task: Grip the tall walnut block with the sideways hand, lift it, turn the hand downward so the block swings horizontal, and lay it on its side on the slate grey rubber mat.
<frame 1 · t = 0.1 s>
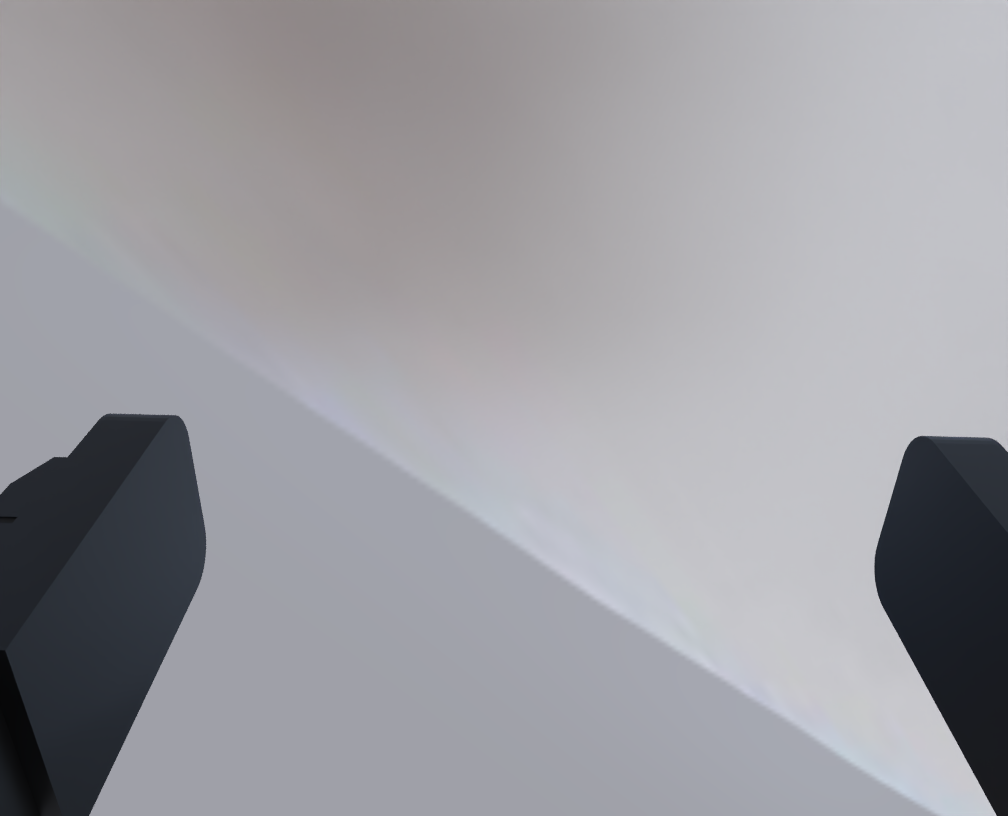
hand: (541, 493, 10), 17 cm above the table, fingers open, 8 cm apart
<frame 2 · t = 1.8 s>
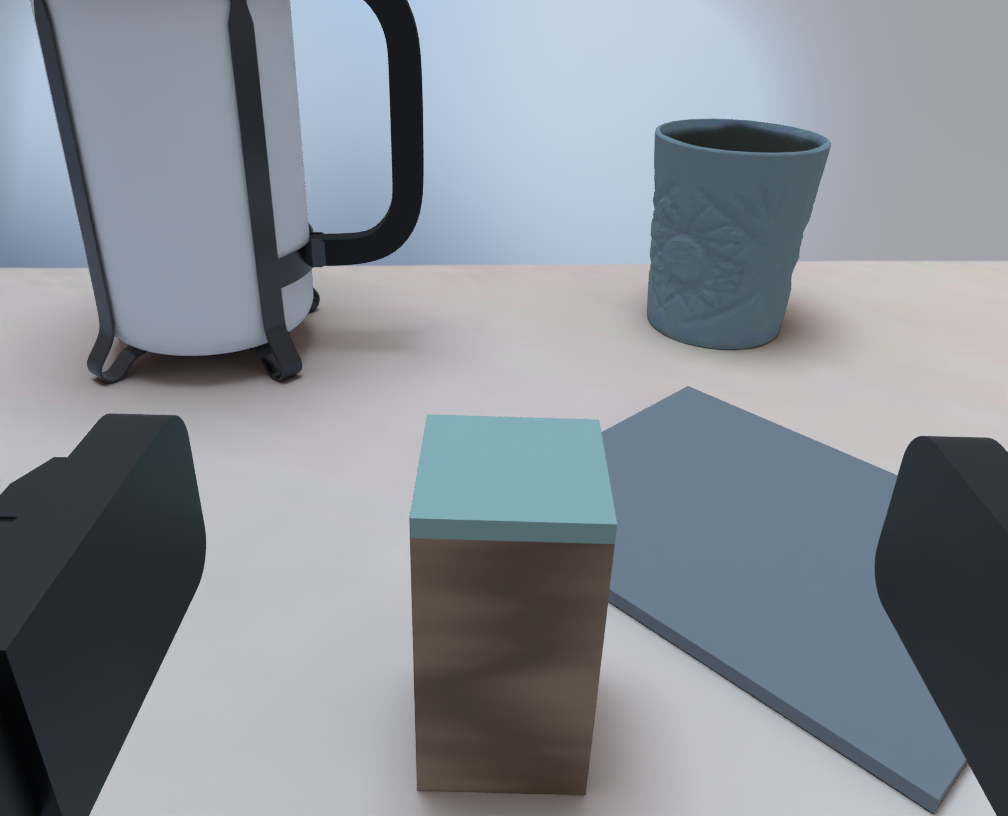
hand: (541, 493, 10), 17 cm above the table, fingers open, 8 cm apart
walnut block: (502, 724, 28), on the table
mat: (772, 541, 37), on the table
coffee press: (239, 341, 53), on the table
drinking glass: (711, 323, 57), on the table
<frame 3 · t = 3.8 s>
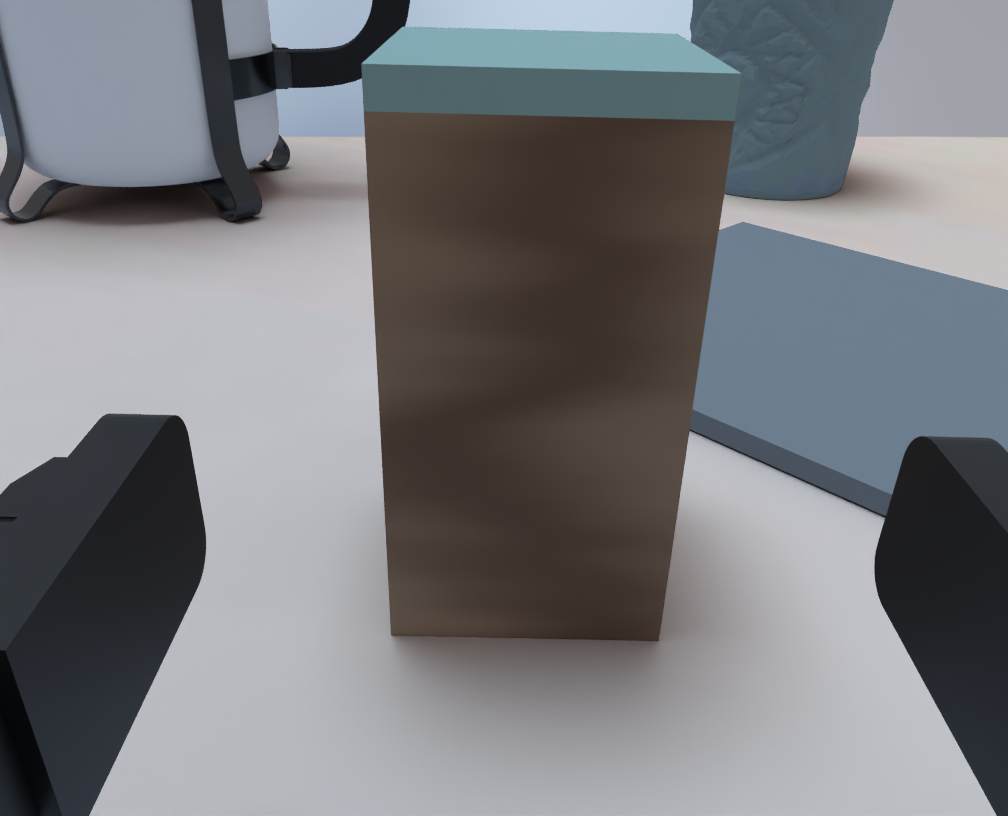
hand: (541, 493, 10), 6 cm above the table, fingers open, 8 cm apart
walnut block: (523, 553, 18), on the table
mat: (880, 361, 27), on the table
coffee press: (189, 192, 43), on the table
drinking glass: (759, 181, 48), on the table
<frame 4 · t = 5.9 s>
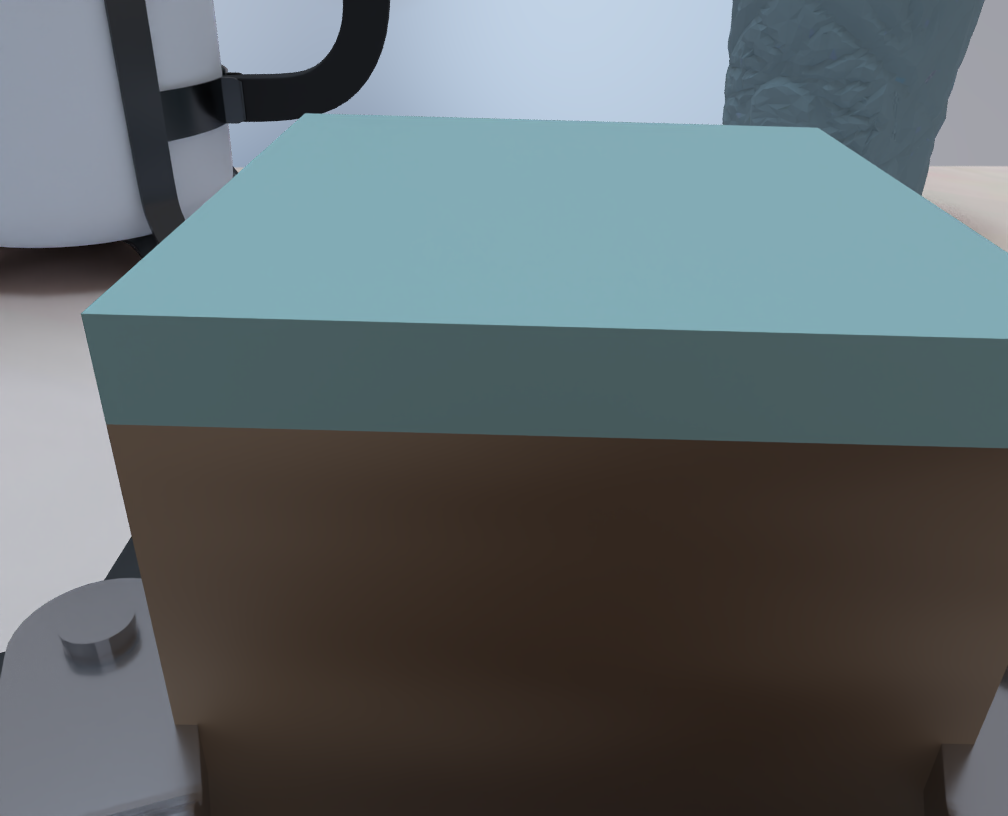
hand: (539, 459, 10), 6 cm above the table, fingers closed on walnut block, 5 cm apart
coffee press: (125, 244, 36), on the table
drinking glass: (806, 227, 40), on the table
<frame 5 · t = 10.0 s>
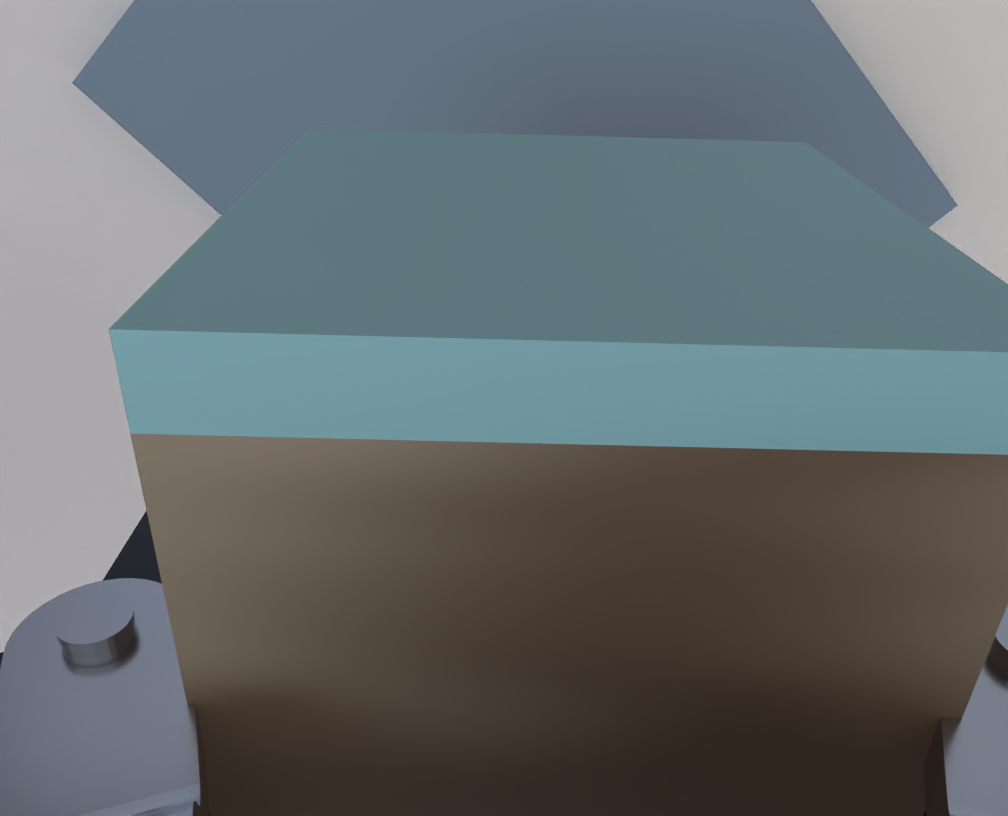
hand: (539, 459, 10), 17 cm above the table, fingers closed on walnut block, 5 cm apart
mat: (526, 141, 25), on the table
when the fingers open (2 cm above the table, at t = 13.3 s): walnut block drops 1 cm, resting on mat.
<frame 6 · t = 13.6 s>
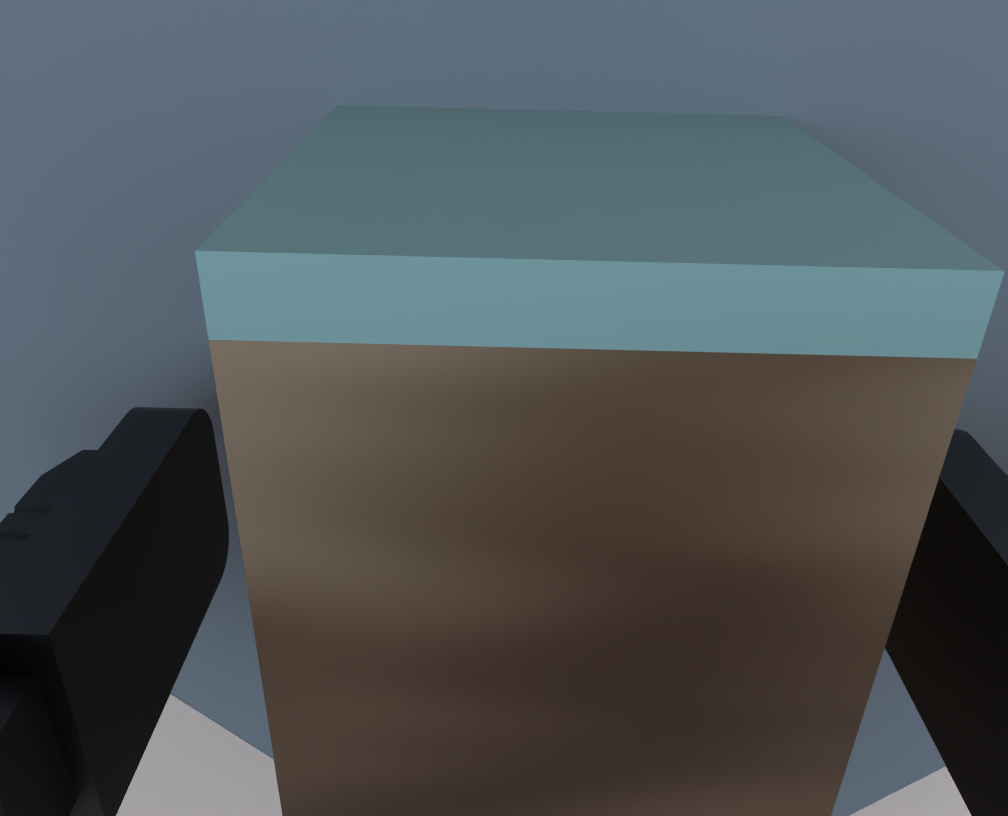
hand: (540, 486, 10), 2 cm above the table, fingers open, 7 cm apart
mat: (536, 387, 12), on the table
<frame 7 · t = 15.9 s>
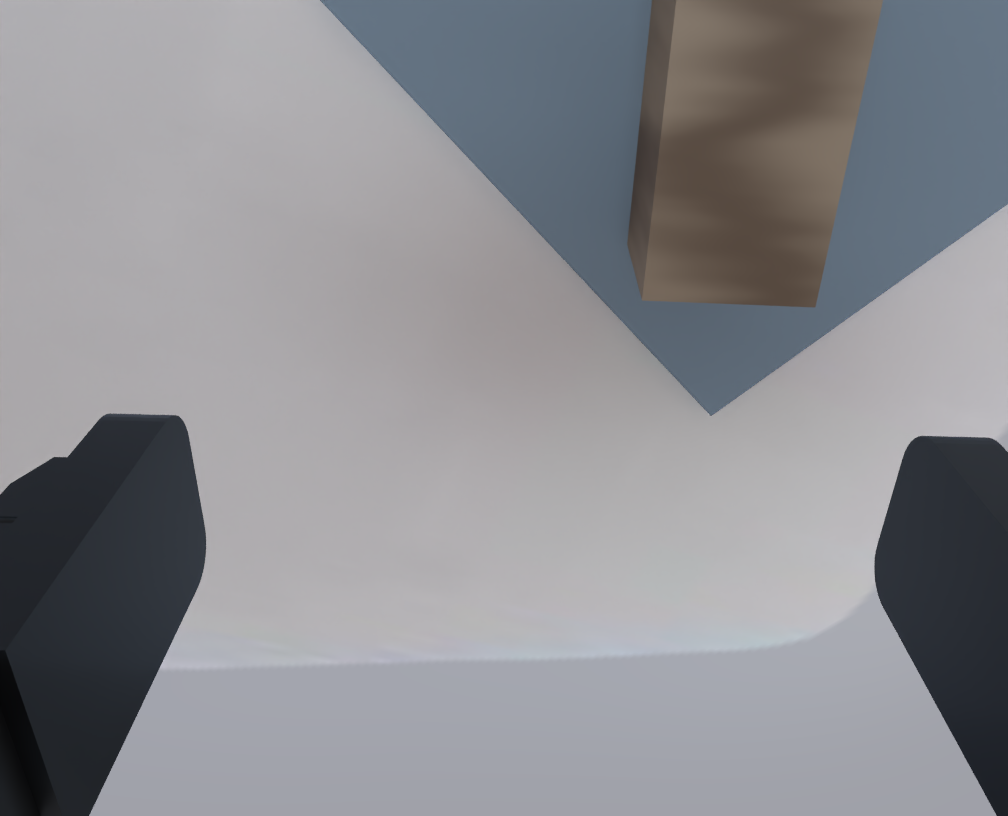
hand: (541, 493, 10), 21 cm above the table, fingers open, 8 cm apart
walnut block: (713, 273, 27), point 3 cm above the table, tilted 90°, touching mat
mat: (722, 49, 27), on the table
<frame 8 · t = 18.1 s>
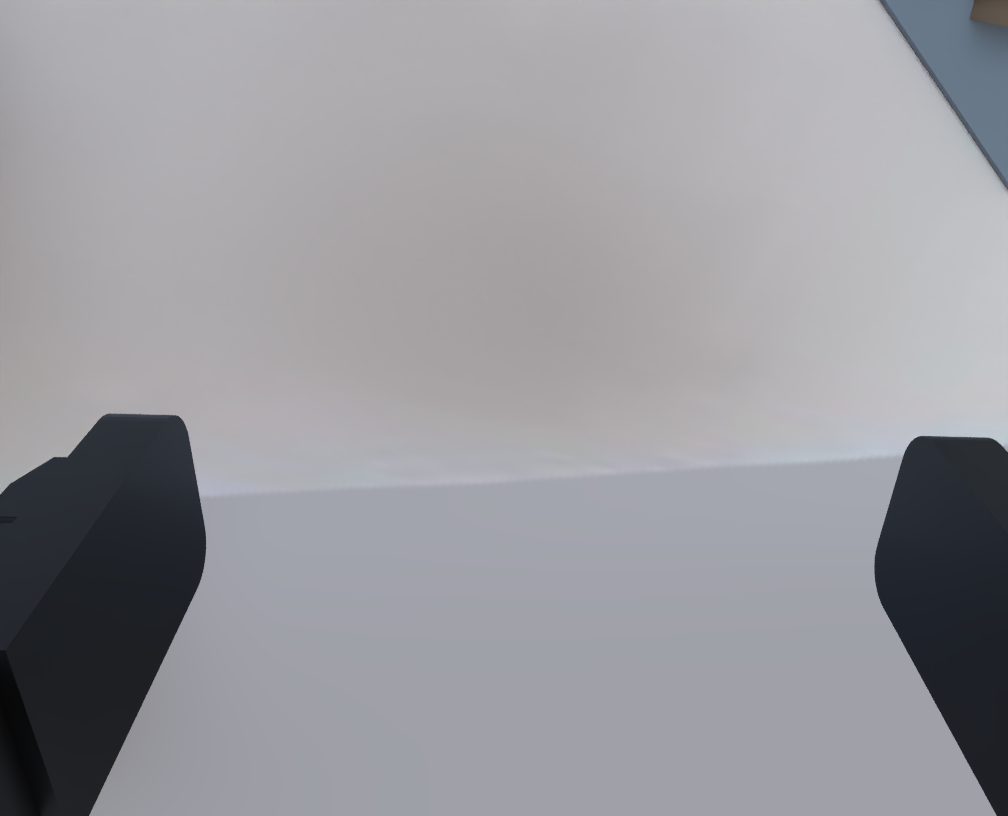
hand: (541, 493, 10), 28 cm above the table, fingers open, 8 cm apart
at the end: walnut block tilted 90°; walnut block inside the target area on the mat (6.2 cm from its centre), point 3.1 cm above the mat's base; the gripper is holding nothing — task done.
